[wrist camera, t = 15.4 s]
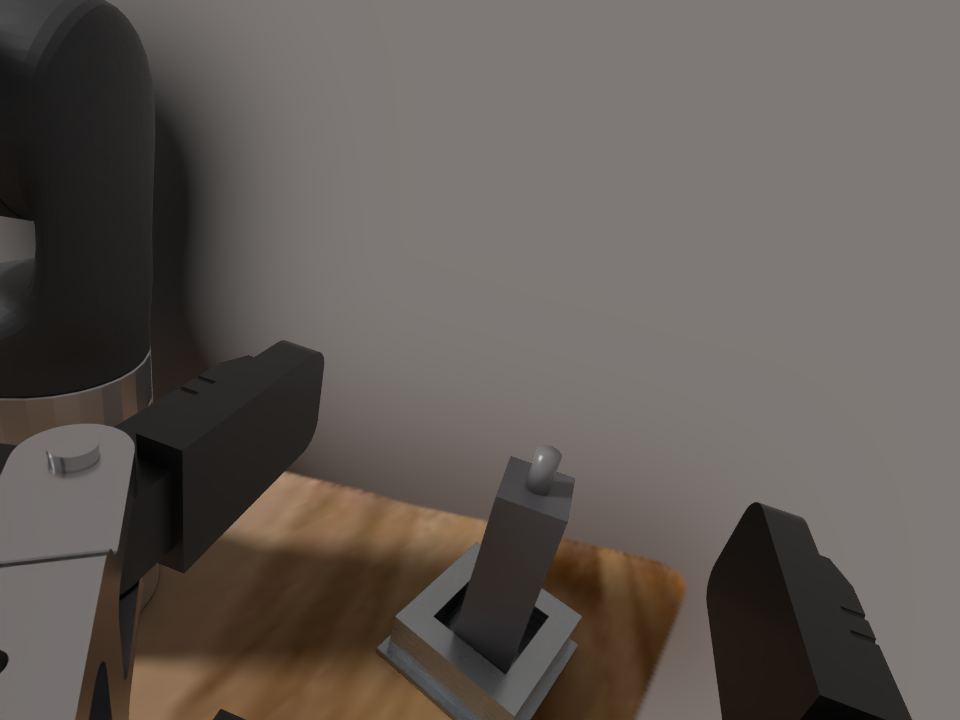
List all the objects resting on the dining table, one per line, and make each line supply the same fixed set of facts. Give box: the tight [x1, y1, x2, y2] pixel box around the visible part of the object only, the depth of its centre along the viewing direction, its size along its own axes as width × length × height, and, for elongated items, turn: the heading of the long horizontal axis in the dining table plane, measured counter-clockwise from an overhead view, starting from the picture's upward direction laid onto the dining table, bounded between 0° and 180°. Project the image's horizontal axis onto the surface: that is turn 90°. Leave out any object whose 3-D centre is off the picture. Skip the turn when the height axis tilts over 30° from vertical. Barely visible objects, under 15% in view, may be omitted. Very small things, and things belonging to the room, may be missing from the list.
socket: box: [376, 542, 582, 720], centre depth 38 cm, size 10×10×3 cm
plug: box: [454, 445, 575, 675], centre depth 35 cm, size 4×4×16 cm
